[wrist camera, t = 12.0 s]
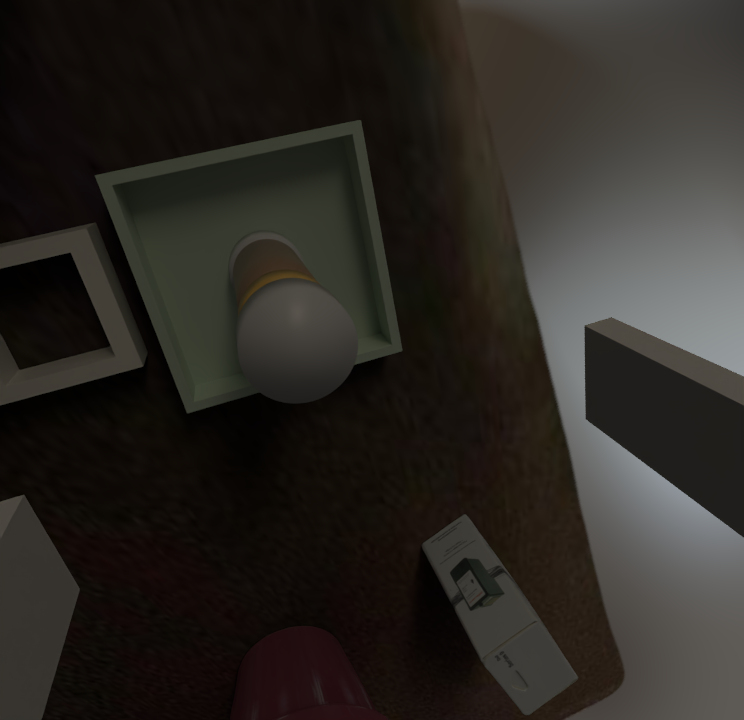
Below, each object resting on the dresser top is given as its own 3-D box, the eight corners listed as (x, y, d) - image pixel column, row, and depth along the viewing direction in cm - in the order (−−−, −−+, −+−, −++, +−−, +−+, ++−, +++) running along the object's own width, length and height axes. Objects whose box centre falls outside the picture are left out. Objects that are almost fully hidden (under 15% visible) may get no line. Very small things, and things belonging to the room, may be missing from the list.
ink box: (505, 567, 49) (584, 682, 39) (461, 598, 49) (529, 721, 39) (465, 510, 45) (541, 621, 35) (418, 544, 45) (479, 665, 35)
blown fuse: (240, 308, 33) (257, 417, 20) (219, 239, 32) (221, 308, 18) (308, 290, 34) (368, 384, 21) (291, 222, 32) (344, 276, 19)
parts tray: (106, 172, 29) (94, 175, 27) (348, 122, 32) (360, 120, 29) (189, 392, 35) (187, 413, 32) (388, 335, 37) (402, 350, 35)
